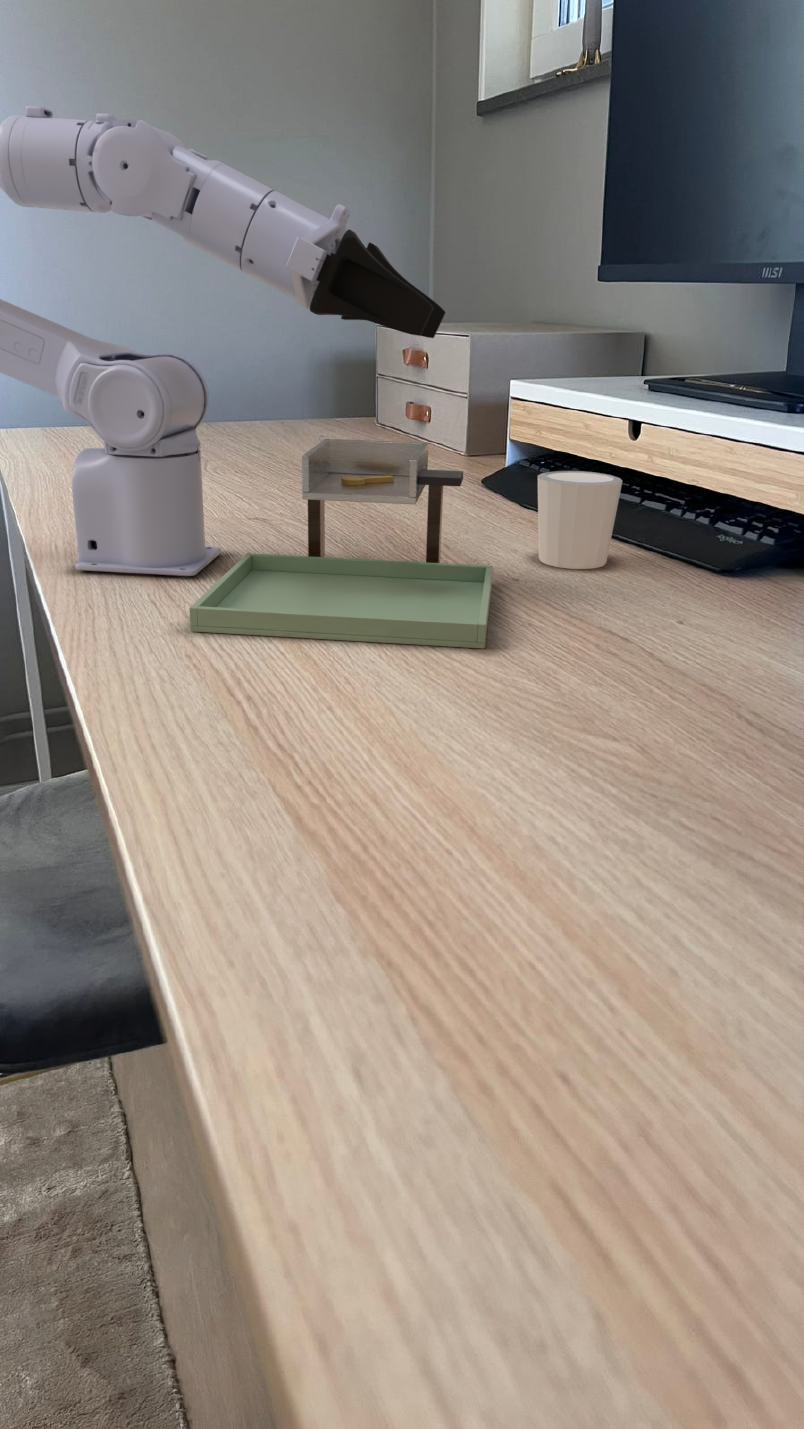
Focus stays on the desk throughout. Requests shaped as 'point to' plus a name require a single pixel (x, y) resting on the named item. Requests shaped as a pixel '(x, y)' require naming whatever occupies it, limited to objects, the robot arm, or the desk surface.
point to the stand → (433, 526)
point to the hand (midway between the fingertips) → (433, 323)
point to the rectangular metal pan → (370, 471)
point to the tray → (349, 600)
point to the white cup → (576, 518)
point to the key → (365, 479)
